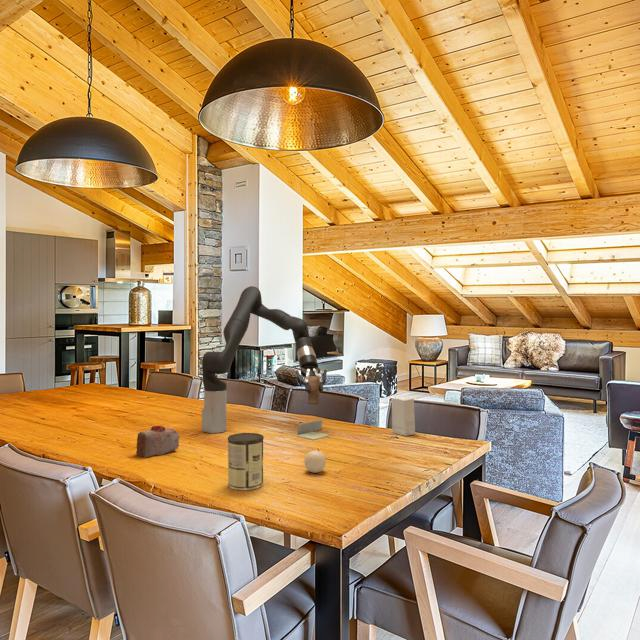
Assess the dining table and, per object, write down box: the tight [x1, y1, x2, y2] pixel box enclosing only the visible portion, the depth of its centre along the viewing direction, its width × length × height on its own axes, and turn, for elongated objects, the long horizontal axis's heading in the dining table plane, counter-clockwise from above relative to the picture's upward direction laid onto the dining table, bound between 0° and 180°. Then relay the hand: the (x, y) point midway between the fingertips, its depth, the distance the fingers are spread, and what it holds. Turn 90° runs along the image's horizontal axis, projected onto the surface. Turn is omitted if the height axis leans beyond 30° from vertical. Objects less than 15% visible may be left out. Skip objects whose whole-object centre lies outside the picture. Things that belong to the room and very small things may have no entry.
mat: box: [296, 431, 331, 441], centre depth 220 cm, size 10×9×1 cm
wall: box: [297, 419, 323, 435], centre depth 227 cm, size 14×1×4 cm, turn 140°
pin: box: [307, 375, 321, 405], centre depth 222 cm, size 5×5×11 cm
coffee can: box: [227, 432, 264, 491], centre depth 157 cm, size 10×10×14 cm
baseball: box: [303, 450, 327, 474], centre depth 171 cm, size 7×7×7 cm
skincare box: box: [391, 396, 416, 437], centre depth 225 cm, size 8×6×15 cm
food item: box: [135, 425, 180, 459], centre depth 192 cm, size 14×8×10 cm, turn 140°
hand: (315, 391), depth 220 cm, fingers closed on pin, 4 cm apart
